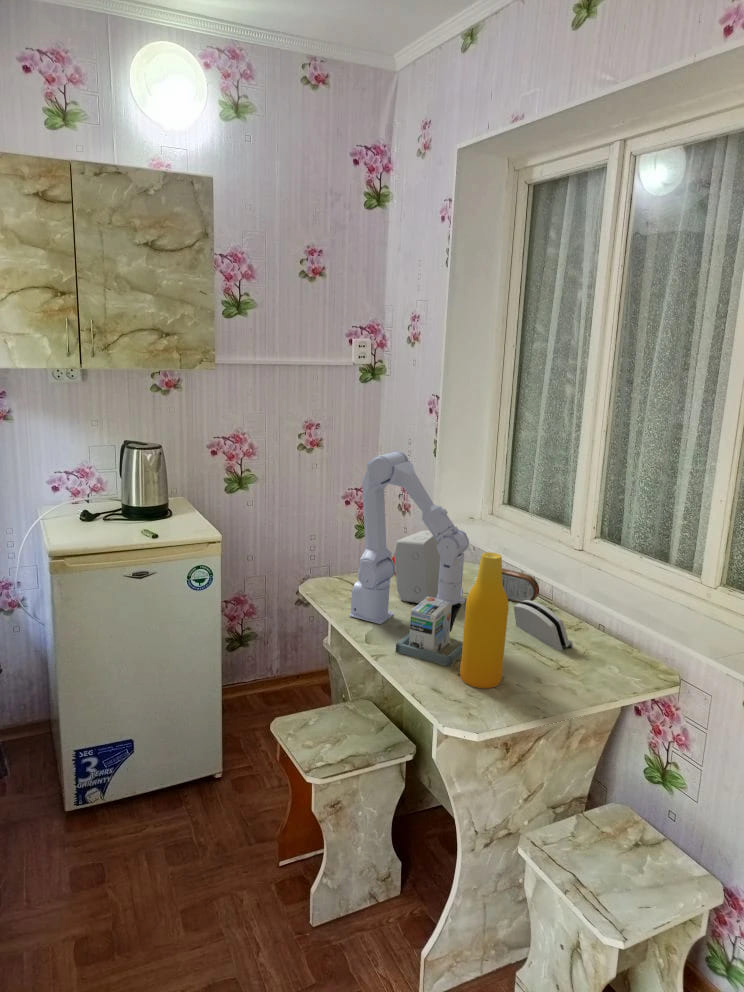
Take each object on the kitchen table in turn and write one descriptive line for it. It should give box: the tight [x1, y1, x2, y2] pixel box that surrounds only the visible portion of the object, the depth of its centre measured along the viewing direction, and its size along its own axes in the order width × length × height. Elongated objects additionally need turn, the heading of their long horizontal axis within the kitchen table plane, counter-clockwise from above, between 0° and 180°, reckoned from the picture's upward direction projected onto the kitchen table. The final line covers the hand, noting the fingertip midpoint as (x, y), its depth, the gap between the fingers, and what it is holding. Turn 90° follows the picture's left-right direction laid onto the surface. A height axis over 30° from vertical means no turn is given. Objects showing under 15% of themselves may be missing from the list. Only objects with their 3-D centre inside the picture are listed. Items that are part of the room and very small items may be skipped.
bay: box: [395, 632, 463, 667], centre depth 183 cm, size 14×15×2 cm
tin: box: [502, 567, 540, 604], centre depth 216 cm, size 15×3×8 cm, turn 58°
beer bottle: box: [459, 551, 509, 689], centre depth 165 cm, size 9×9×29 cm
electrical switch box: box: [392, 529, 440, 604], centre depth 215 cm, size 14×15×20 cm
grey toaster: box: [513, 600, 574, 652], centre depth 192 cm, size 17×5×10 cm, turn 28°
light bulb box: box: [409, 597, 452, 654], centre depth 182 cm, size 11×7×11 cm, turn 153°
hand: (446, 631), depth 189 cm, fingers closed
